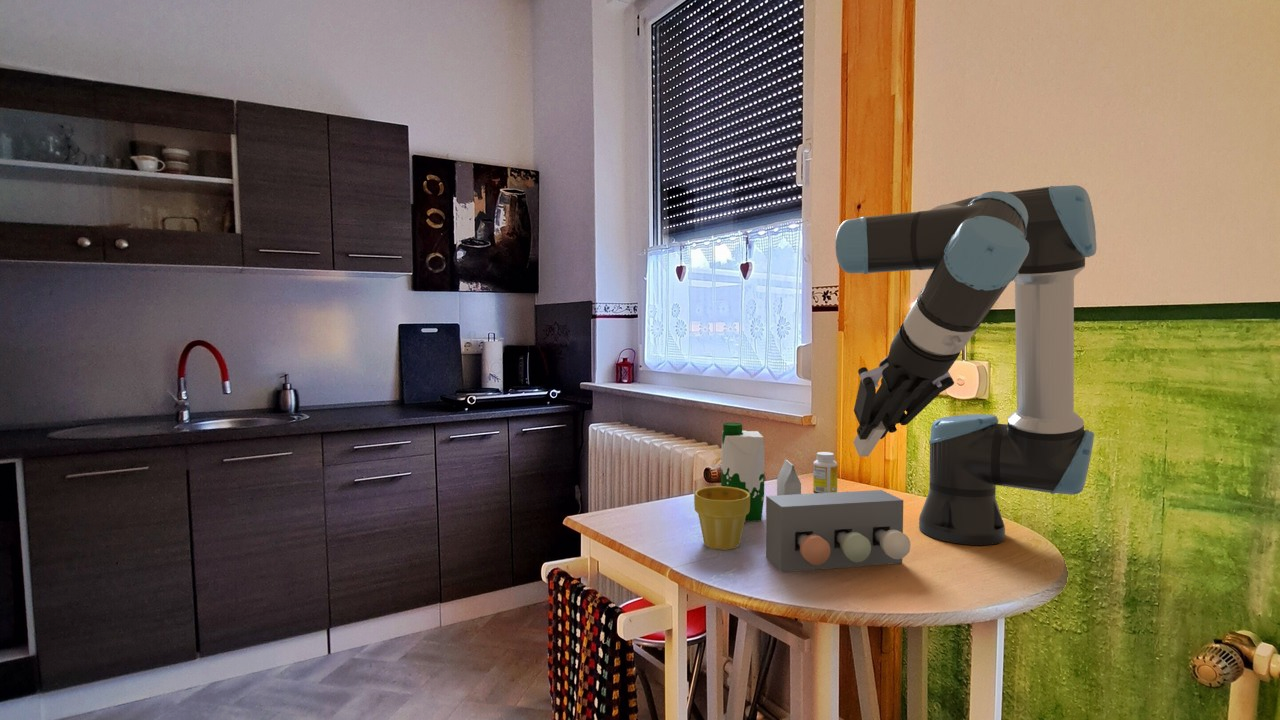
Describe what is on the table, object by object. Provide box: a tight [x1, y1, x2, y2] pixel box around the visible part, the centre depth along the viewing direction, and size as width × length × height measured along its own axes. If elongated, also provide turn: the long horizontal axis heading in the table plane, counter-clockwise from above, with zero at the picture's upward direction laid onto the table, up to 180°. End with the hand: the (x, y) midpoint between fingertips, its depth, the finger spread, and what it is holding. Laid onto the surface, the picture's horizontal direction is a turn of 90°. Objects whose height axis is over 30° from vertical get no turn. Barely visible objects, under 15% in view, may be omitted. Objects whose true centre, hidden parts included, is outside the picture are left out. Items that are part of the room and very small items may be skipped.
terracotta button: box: [796, 533, 830, 565], centre depth 106 cm, size 4×6×4 cm
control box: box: [765, 489, 904, 573], centre depth 113 cm, size 22×7×11 cm, turn 100°
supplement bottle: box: [812, 451, 838, 494], centre depth 156 cm, size 6×6×10 cm
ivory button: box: [873, 528, 912, 560], centre depth 108 cm, size 4×6×4 cm
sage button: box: [835, 531, 871, 562], centre depth 107 cm, size 4×6×4 cm
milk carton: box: [720, 422, 765, 522], centre depth 139 cm, size 9×9×20 cm
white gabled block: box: [776, 459, 802, 495], centre depth 147 cm, size 4×7×10 cm, turn 2°
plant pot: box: [693, 485, 750, 551], centre depth 121 cm, size 10×10×10 cm
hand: (860, 448), depth 96 cm, fingers closed
